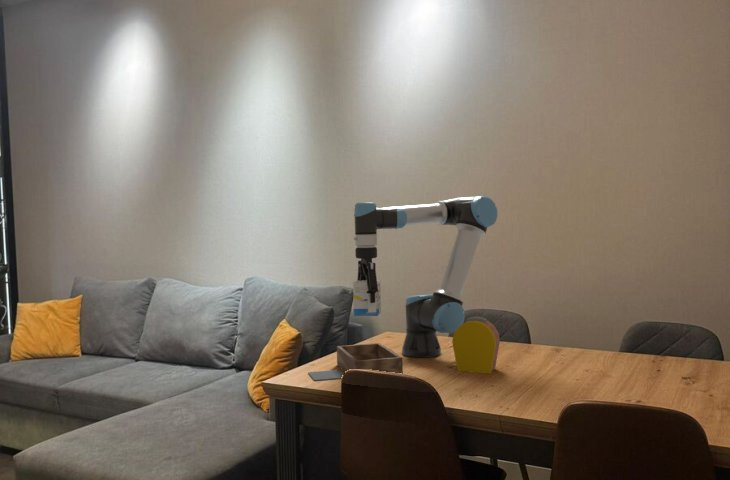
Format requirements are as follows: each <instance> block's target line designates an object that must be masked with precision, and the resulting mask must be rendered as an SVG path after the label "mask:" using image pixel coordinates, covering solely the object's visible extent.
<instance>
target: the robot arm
mask: <svg viewBox="0 0 730 480" xmlns="http://www.w3.org/2000/svg"><path fill="white" fill-rule="evenodd" d="M498 214H499V213H498V209H497V206H496V203H495V202H494V201H493V199H491V197H488V196H486V195H484V196H483V195H475V196H460V197H453V198H450V199H446V200H437V201H435V203H429V204H427V203H426V204H415V205H413V204H412V205H400V206H397V205H396V206H386V207H377V204H376V202H373V201H372V202H371V201H370V202H369V201H367V202H363V201H362V202H356V203H355V205H354V215H353V217H354V234H355V235H354V237H353V241H354V242H355V246H356V247H355V250H354V252H355V258H356V259H360V260H358V261H357V263H358V264H357V280H356V281H358V280H360V281H362V280H366V281H367V286H368V291H367V293H368V312H376V292H378V287H377V280H378V279H377V272H376V271H377V270H376V262H373V259H376V258H377V257H378V248H377V247H376V246H378V235H377V234H378V233H377V232H378V230H390V229H393V230H394V229H395V230H397V229H403V228H404V227H406V226H416V225H427V224H428V225H429V224H437V225H438V226H448V225H449V226H456V228H457V231H458V232H457V234H456V237H455V240H454V243H453V246H452V248H451V249H452V250H451V251H450V255H449V258H448V261H447V265H446V267H445V270H444V273H443V276H442V279H441V282H440V285H439V288H438V289H437V290H435V291H433V293H432V294H431V293H430V294H421V295H418V294H417V295H410V296H407V297H406V299H405V328H406V329H405V330H406V333H405V338H404V340H403V343H402V344H403V345H402V347H401V349H402V350H401V353H402V355H403V356H406V357H411V358H432V357H437V356H440V355H441V354H442V351H441V350H442V348H441V345H440V342H439V339H438V336H437V332H439V333H441V334H454V333H455V331H456V330H457V328H458V327H459V326H461V325H462V324H464V323H465V322H464V321H465V317H466V316H465V315H466V314H465V310H464V308H463V304H464V301H463V298H462V294H463V291H464V287H465V285H466V281H467V278H468V275H469V272H470V270H471V266H472V263H473V261H474V256H475V253H476V251H477V249H478V244H479V241H480V238H482V237H484V236H485V235H486V233H487V230H488V228H490V227H491V226H493V225H495V223H496V222H497V219H498Z"/></svg>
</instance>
